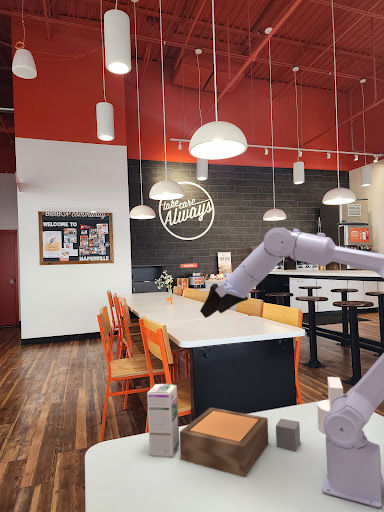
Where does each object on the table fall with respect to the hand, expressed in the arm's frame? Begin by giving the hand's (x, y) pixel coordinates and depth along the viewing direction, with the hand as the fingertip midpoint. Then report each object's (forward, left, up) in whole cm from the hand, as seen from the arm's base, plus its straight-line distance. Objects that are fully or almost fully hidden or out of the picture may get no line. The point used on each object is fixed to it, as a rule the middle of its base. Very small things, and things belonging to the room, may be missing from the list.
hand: (211, 312), depth 81 cm
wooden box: (-2, -2, -32) cm, 32 cm away
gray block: (-14, -11, -32) cm, 36 cm away
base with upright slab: (-23, -24, -32) cm, 46 cm away
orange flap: (-2, -2, -27) cm, 27 cm away
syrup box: (+11, +4, -32) cm, 34 cm away
